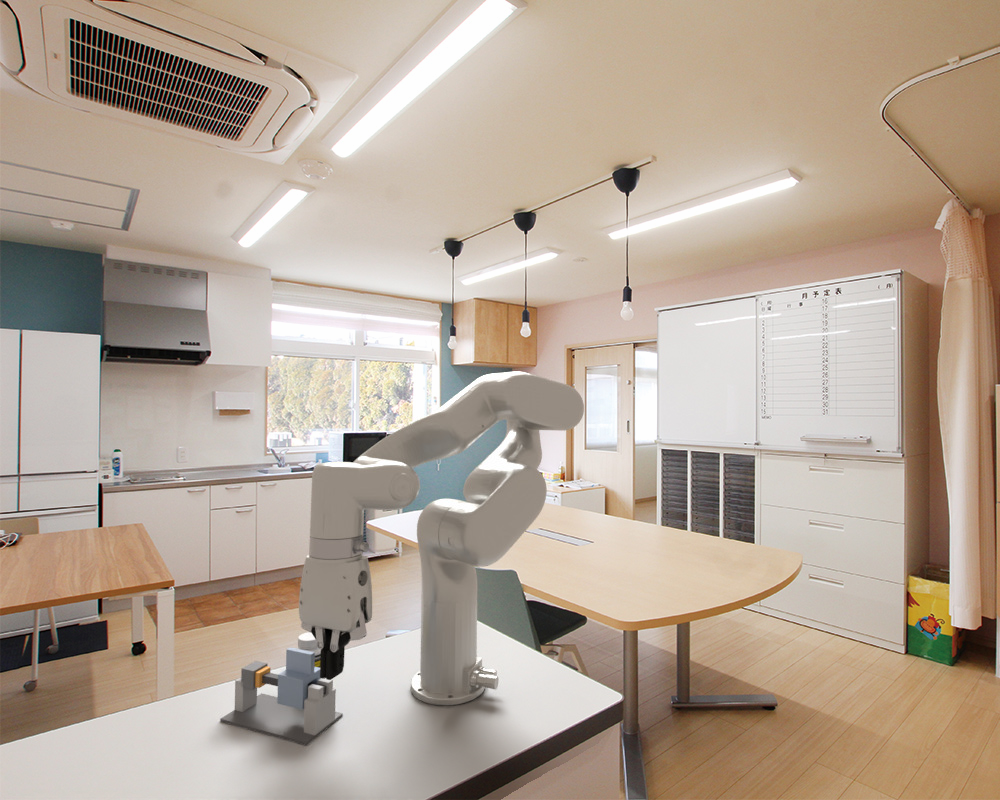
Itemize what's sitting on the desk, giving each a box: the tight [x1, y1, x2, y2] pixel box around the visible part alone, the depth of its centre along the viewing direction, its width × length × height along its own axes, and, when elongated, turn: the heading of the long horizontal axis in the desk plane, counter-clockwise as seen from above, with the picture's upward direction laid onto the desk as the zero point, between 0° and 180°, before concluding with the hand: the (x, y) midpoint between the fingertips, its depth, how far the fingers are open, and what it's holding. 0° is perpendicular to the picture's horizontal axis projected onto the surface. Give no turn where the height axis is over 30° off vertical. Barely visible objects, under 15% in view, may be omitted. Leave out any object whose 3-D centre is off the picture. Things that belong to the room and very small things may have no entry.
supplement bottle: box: [296, 631, 321, 668], centre depth 91 cm, size 5×5×8 cm
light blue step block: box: [277, 647, 321, 710], centre depth 80 cm, size 5×4×7 cm
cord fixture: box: [219, 660, 344, 746], centre depth 81 cm, size 16×8×7 cm, turn 69°
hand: (331, 674), depth 78 cm, fingers closed
